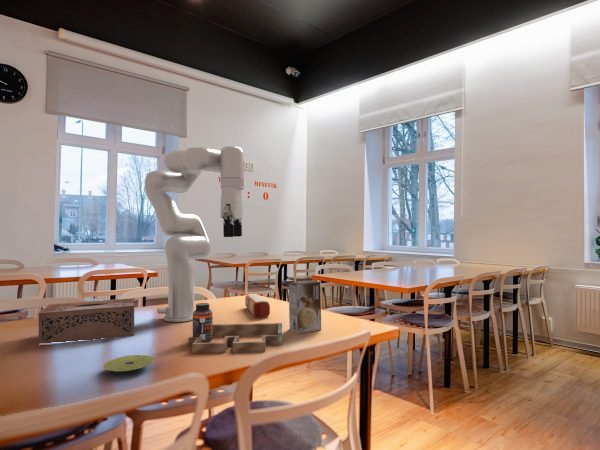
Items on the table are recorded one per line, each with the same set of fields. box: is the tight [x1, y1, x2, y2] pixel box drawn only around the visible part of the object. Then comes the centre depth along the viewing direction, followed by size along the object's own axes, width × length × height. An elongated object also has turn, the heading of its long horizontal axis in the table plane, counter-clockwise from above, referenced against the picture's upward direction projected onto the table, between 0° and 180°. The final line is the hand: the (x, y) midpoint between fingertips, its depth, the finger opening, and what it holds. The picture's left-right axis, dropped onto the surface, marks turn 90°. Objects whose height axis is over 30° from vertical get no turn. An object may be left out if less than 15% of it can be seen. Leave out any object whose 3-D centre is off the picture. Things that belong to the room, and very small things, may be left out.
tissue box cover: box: [38, 297, 135, 344], centre depth 125 cm, size 26×14×10 cm, turn 113°
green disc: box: [102, 354, 155, 373], centre depth 93 cm, size 11×11×2 cm
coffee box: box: [288, 279, 322, 334], centre depth 128 cm, size 9×6×16 cm
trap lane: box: [187, 322, 283, 354], centre depth 114 cm, size 27×17×4 cm, turn 93°
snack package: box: [244, 293, 271, 319], centre depth 155 cm, size 21×7×7 cm, turn 17°
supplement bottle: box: [192, 302, 214, 343], centre depth 117 cm, size 6×6×11 cm
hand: (233, 236), depth 126 cm, fingers open, 9 cm apart
